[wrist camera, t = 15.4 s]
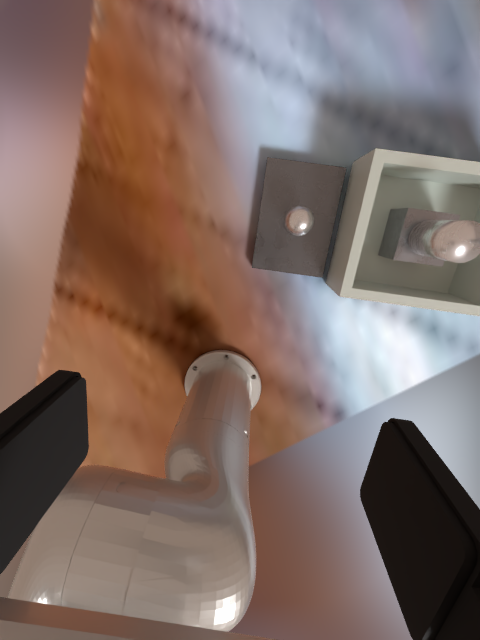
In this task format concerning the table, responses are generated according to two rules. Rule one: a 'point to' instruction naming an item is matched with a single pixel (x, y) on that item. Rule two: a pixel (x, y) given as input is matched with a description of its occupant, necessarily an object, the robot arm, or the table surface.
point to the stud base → (281, 201)
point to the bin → (370, 221)
